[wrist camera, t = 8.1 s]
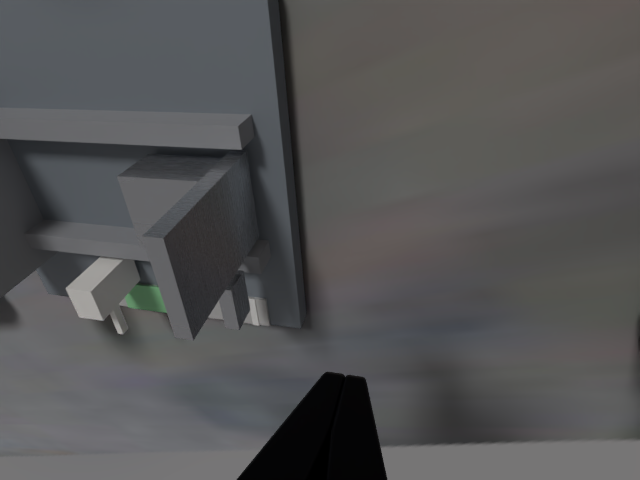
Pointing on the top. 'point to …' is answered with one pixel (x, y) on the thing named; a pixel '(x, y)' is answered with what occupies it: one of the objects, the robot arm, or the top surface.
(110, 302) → the stamp-shaped block
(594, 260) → the top surface
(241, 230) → the dark grey angled block
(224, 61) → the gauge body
